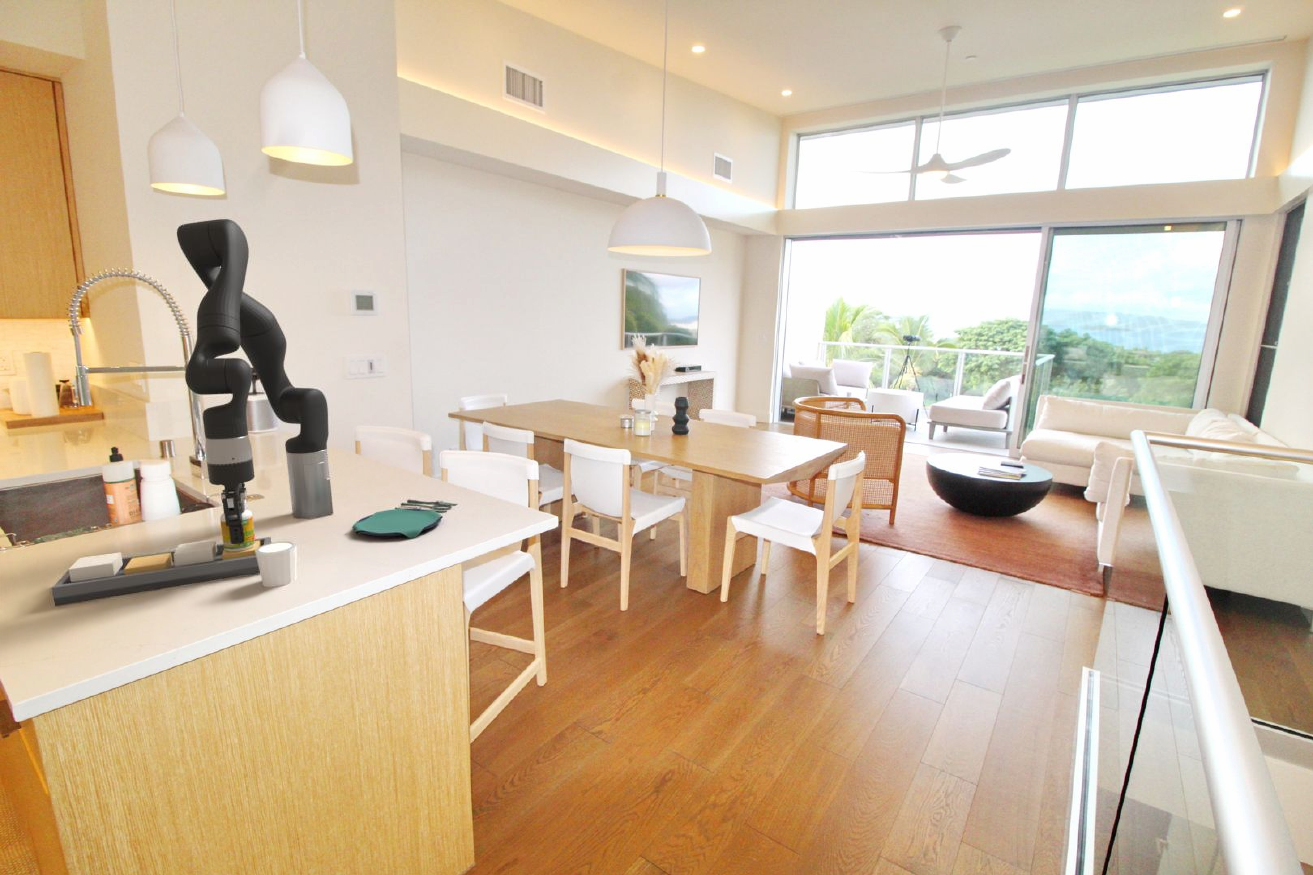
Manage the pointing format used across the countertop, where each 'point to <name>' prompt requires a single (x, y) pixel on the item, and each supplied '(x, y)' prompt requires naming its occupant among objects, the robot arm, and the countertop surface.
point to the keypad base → (153, 577)
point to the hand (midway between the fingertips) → (239, 538)
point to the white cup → (277, 563)
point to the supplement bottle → (247, 529)
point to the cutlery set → (402, 520)
